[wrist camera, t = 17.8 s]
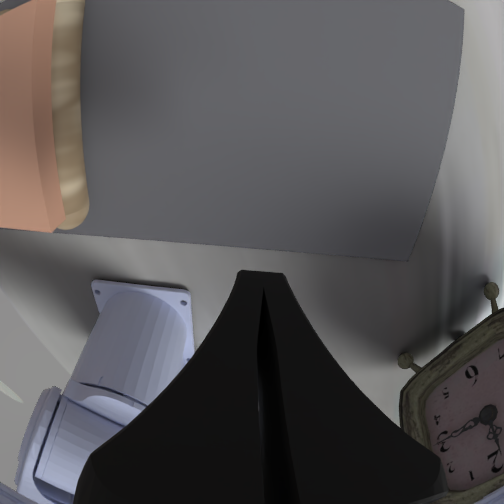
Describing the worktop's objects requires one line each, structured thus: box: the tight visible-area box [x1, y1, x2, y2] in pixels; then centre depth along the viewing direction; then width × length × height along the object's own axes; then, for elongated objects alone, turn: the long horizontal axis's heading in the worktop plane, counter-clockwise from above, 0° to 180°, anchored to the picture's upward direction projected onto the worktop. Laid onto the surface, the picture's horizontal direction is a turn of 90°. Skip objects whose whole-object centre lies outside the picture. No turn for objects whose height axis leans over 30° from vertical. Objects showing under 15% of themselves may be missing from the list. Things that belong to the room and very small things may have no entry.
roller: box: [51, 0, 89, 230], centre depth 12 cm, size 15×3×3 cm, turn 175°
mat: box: [0, 0, 464, 261], centre depth 14 cm, size 18×40×1 cm, turn 85°
